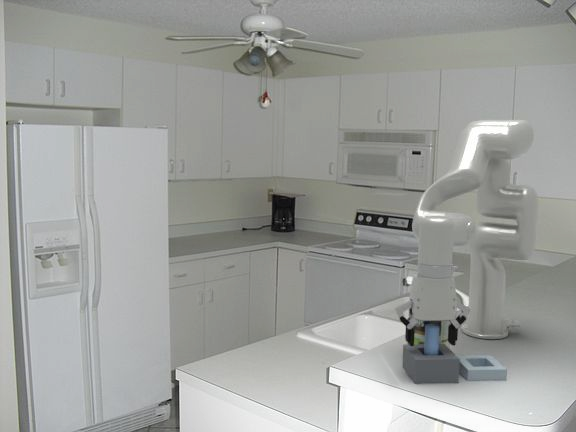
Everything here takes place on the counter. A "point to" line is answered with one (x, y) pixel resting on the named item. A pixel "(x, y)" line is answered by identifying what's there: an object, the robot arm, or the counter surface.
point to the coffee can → (420, 331)
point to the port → (430, 365)
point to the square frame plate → (481, 368)
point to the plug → (431, 339)
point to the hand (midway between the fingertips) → (431, 343)
